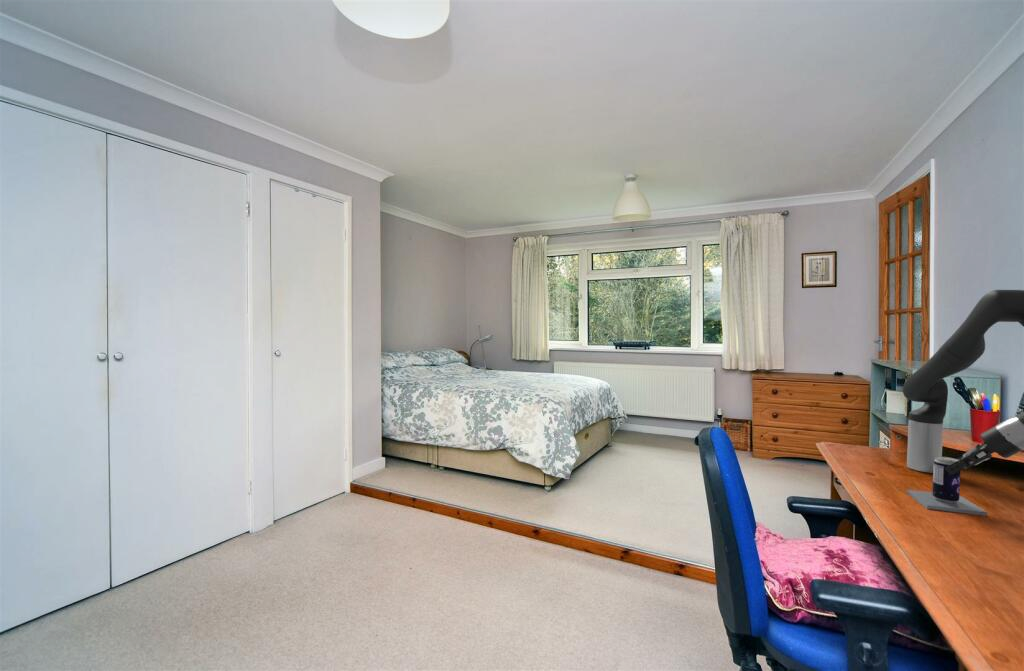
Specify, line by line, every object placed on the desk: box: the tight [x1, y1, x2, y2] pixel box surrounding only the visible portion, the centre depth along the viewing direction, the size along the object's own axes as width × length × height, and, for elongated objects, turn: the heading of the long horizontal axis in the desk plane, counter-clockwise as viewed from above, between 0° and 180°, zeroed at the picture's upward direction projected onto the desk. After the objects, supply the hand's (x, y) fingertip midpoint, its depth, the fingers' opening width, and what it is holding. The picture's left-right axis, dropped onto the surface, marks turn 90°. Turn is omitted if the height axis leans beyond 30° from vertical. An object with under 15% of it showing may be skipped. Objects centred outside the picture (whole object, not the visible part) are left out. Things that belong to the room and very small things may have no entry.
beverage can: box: [931, 456, 962, 503], centre depth 135 cm, size 6×6×12 cm
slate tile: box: [906, 489, 988, 517], centre depth 135 cm, size 13×13×1 cm
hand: (950, 468), depth 134 cm, fingers open, 8 cm apart
